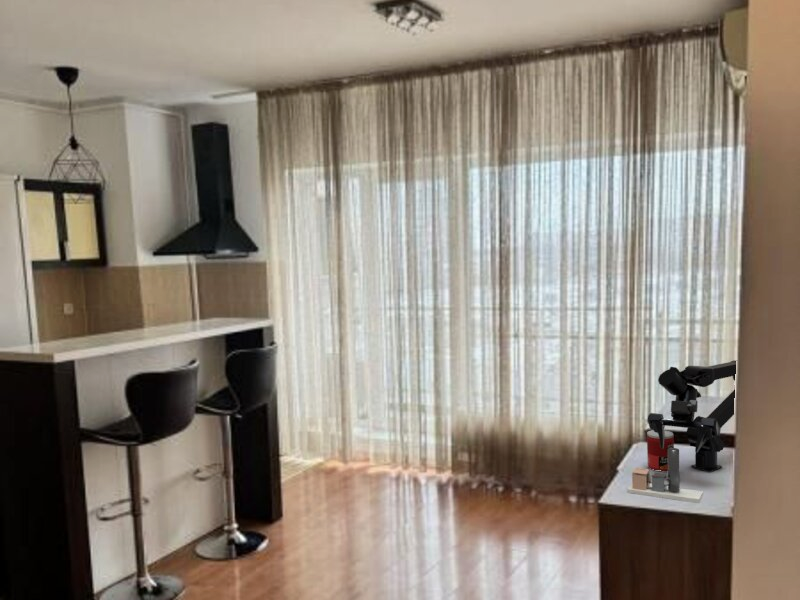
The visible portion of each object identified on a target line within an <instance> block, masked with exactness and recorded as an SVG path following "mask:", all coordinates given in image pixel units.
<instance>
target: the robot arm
mask: <svg viewBox="0 0 800 600" xmlns="http://www.w3.org/2000/svg"><path fill="white" fill-rule="evenodd" d="M736 361H737V360H736V359H734V360H731V361H728V362H723V363H718V364H713V365H708V366H703V365H702V366H700V365H687V366H685V368H684V369H683V370H681V371H680V370H679V369H678V368H677V367H676V366H675V367H674V366H670V367H669V369H666V370H664V371H663V372H662V373H661V374H659V375H658V380H657V381H658V384H659V385H660V386H661V387H662V388H663V389H664V390H666V391H667V392H668V393H669V394H670V395H672V396H675V400H671V405H670V412H671V413H670V415H671V418H672V419H670V418H665V417H664V414H663V413H657V412H656V413H654V412H650V413H649V414H648V416H647V423H648V424H647V425H648V426H649V429H650V430H654V432H656V433H658V435H659V439H660V444H661V449H663V447H664V437H665V431H664V430H665V426H667V427H677V428H687V429H686V438H687V440H688V443H689V446H690V447H694V448H695V450H694V452H695V453H694V454H695V456H694V458H695V463H694V464H691V466H690V468H693V469H698V470H701V471H705V472H709V473H711V472H714V471H716V470H719V469H722V468H723V465H720V464H718V453H721V451H723V450H724V447H725V442H724V441H723V440H722V439H721V438H720V437H721V429H722V427H724V425H725V424H726V423H727V422H728V421H730V419H731V418H732V417H734V415H735V414H734V398H735V386H734V389H733V390H732V391H731V392H730V393H729V394H728V395H727V396H726V398H724V399H723V400H722V401H721V402H720V404H718V405H717V406H716V408H715V409H713V411H711V413H710V414H708V415H707V416H706V417H704V416H701V415H698V416H696V417H695V413H698V400H697V399H698V398H701V397H702V394H701V393H700V391H699V390H698V389H697V388H696V387H700V388H706V387H708V386H710V385H712V384H714V382H715V381H717V380H721V379H726V378H730V377H732V380H733V381H734V382H735V374H736Z"/></svg>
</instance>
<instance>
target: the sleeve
mask: <svg viewBox="0 0 800 600" xmlns="http://www.w3.org/2000/svg"><path fill="white" fill-rule="evenodd" d="M651 476H652V491H658V492H665V490H666V489H667V487H668V486H666V485H664V478H668V473H663V472H654V473H653V474H652V475H651Z"/></svg>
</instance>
